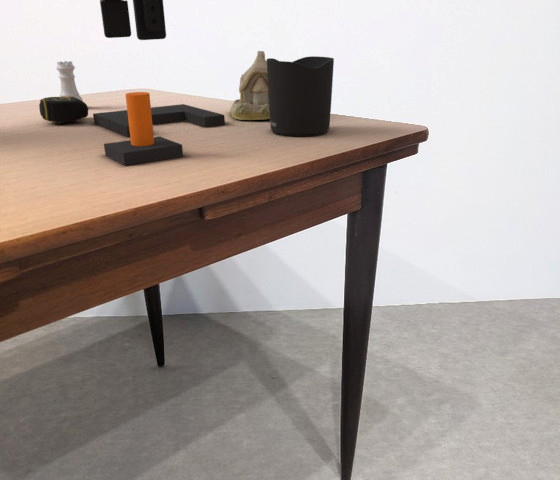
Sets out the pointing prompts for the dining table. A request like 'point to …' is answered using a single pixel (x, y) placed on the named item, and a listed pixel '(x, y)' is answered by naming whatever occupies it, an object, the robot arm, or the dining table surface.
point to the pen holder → (300, 95)
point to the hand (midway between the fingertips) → (134, 38)
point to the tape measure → (62, 109)
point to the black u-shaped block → (160, 117)
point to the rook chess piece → (67, 80)
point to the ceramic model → (253, 92)
